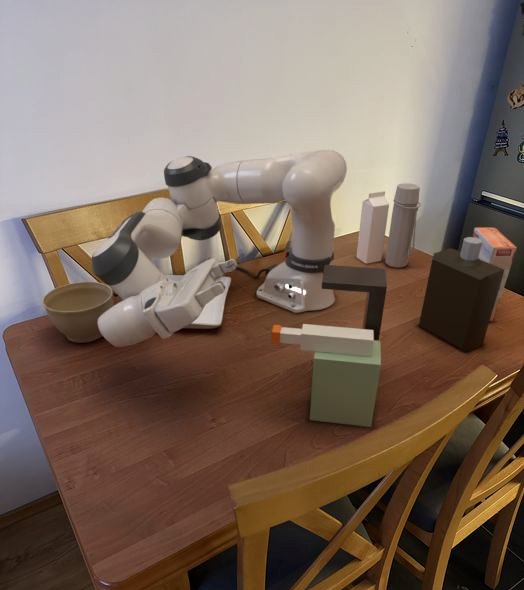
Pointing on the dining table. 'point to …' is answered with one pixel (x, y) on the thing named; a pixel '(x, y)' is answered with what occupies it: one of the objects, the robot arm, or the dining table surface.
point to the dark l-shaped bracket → (361, 290)
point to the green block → (345, 387)
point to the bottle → (460, 295)
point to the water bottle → (402, 225)
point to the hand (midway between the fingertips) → (229, 274)
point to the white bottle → (326, 339)
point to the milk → (372, 228)
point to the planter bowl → (78, 309)
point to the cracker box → (495, 255)
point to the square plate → (209, 307)
